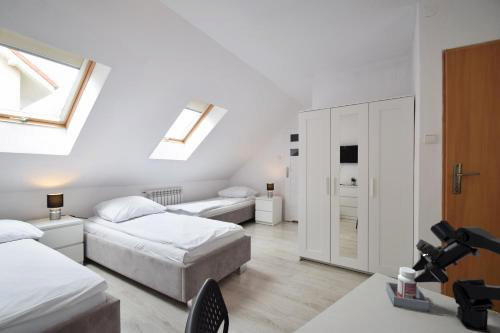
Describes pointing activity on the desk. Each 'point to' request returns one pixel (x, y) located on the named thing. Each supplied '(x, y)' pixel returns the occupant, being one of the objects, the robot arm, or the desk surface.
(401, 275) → the pill bottle
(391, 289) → the slate tray
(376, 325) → the desk surface
